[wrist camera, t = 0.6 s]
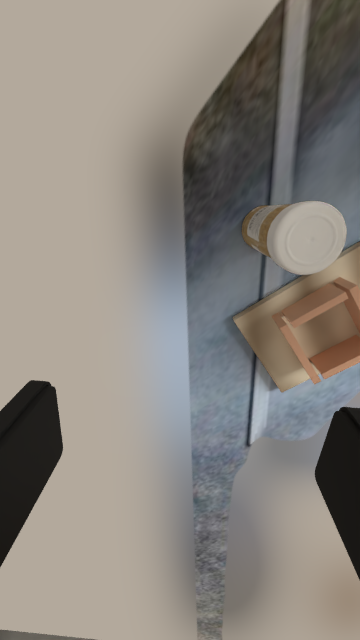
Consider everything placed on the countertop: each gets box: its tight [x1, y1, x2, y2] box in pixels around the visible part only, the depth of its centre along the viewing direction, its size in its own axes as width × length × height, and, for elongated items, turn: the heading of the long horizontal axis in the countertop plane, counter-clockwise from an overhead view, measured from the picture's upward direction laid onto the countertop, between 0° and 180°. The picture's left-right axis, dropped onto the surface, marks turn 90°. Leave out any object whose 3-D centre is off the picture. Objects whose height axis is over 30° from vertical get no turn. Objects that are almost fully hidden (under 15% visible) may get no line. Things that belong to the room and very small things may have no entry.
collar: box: [272, 277, 360, 384], centre depth 31 cm, size 8×8×4 cm
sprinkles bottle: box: [242, 201, 347, 275], centre depth 23 cm, size 5×5×13 cm
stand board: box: [233, 242, 360, 392], centre depth 33 cm, size 16×12×1 cm
